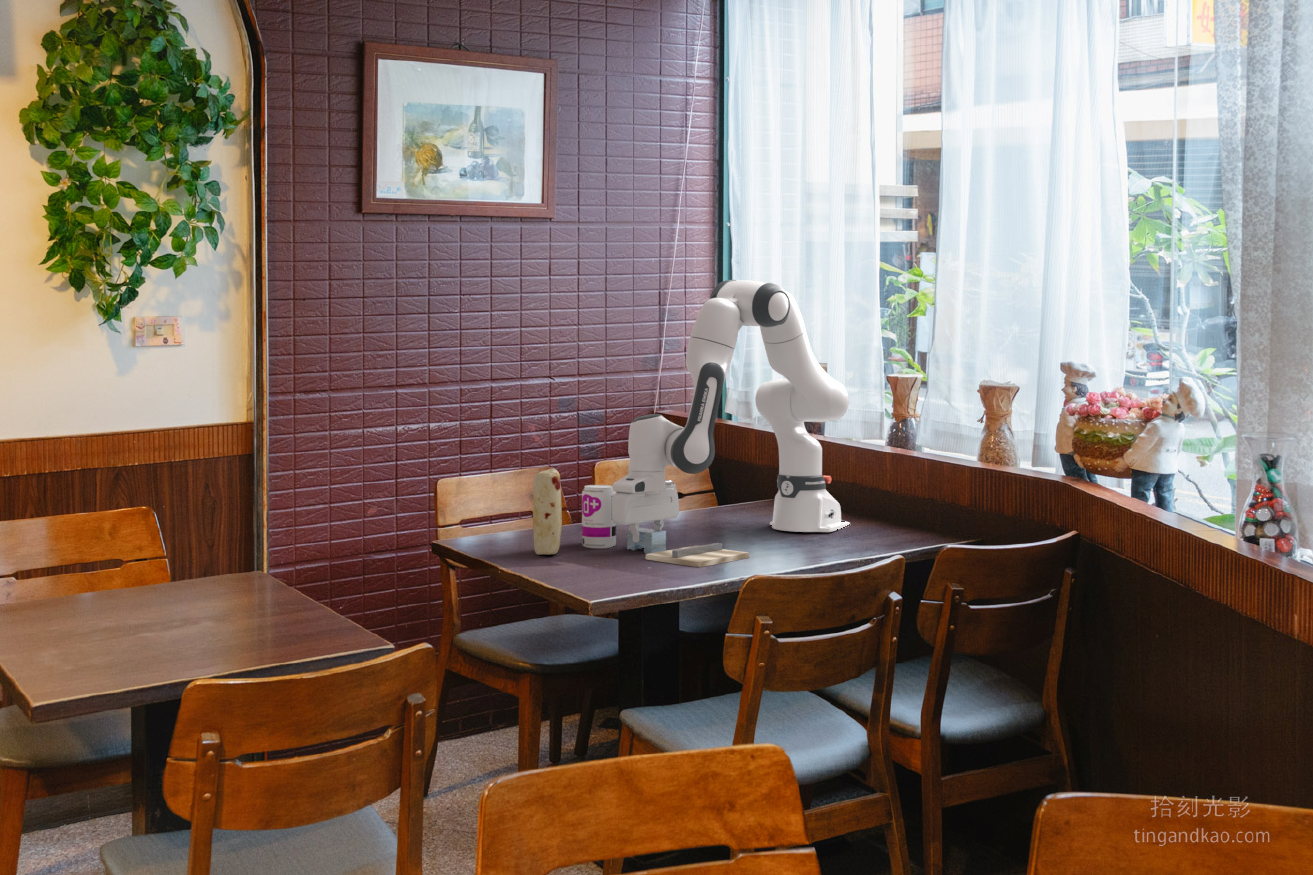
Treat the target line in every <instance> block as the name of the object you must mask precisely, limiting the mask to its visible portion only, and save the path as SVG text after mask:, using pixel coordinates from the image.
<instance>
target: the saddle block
mask: <svg viewBox="0 0 1313 875" xmlns="http://www.w3.org/2000/svg"><path fill="white" fill-rule="evenodd" d="M638 530H639V533H640V534H642V541H641V542H633V534H632V533H631V531H630V528H629V529H626V549H627V550H629V549H631V551H634V550H635V551H638V549H639V550H643V553H644V554H649V553H655V552H661V551H667V530H663V529H661V530H655V529H654V528H647V527H639V528H638ZM642 548H644V549H642Z"/></svg>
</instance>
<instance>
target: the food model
mask: <svg viewBox="0 0 1313 875" xmlns="http://www.w3.org/2000/svg"><path fill="white" fill-rule="evenodd" d="M532 484H533V487H532V488H533V491H532V492H533V498H532V500H533V501H532V522H533V524H532V526H533V531H532V532H533V547H534V552H535V555H537V556H539V555H541V556H542V555H546V556H547V555H555V554H557V553H558V552H559V550H560V547H561V537H562V535H561V534H562V528H563V524H562V523H563V520H562V519H563V518H562V517H563V514H562V510H563V509H562V487H561V475H560V473H559V471H558V470H557V469H556V468H555V469H554V468H548V469H544V470H542V471H540V472H538V473H537V472H536V473H534V478H533V483H532Z"/></svg>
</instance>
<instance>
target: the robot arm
mask: <svg viewBox="0 0 1313 875" xmlns="http://www.w3.org/2000/svg"><path fill="white" fill-rule="evenodd" d="M801 313H802V312H801V311H800V308H799V306H798V304H797V301H796V300H795V298H794V296H793V295H792V294H791V293H790V292H788V291H786V290H785V289H784V288H783V287H782V286H780V285H778V284H775V283H774V282H773V283H772V282H765V281H759V280H752V279H751V280H750V279H749V280H746V279H745V280H737V279H727V280H724V281H721V282H719V283H718V284H716V286H715V287H714V289H713V290H712V292H711V294H710V296H709V299H708V300H706V301H705V302H703V305H702V307H701V308H700V311H699V312H698V315H697V317H696V319H695V322H694V324H693V327H692V330H691V333H690V337H689V340H688V344H687V349H686V355H685V367H686V369H687V371H688V372H689V373H688V374H690V377H691V379H692V382H693V394H692V400H691V403H690V408H689V411H688V412H689V413H688V417H687V421H686V424H685V426H681V425H678V423H677V424H676V423H674V422H672V421H670V420H668V419H667V418H665V417H664V416H663V415H662V414H659V413H652V414H651V413H650V414H644V415H640V416H637V417H635V418H633V420H632V421H631V423H630V426H629V431H628V442H627V443H628V445H627V446H628V448H627V449H628V450H627V452H628V455H629V464H628V467H627V468H628V470H627V471H628V472H627V474H626V475H624V476H623V477H622V478H620V479H618V480H616V481H615V482H613V484H612V486H613V491H615V492H616V493H615V494H614V496H613V500H612V519H613V521H614V523H615V524H616V525H620V526H627V525H628V528H629V529H630V531H631V533H632V534H633V542H641V541H642V534H640V533H639V530H638V528H640V524H642V523H649V522H653V524H654V527H653V529H655V530H663V527H664V525H665V520H670V519H677V518H678V516H679V514H680V502H679V495H678V491H677V485H676V484H675V482H674V481H672V480H671V479H669V480H666V467H667V466H672V467H674V468H677V469H679V470H680V471H681V472H684V473H685V474H689V475H695V474H700V473H702V472H704V471H706V470H707V469H708V468H709V467H711V465H712V463H713V461H714V458H715V455H716V446H715V438H714V430H715V425H716V424H715V423H716V420H717V415H718V411H719V406H720V401H721V398H722V397H721V396H722V392H723V388H724V384H725V381H726V378H727V374H728V371H729V368H730V366H731V362H732V359H733V356H734V353H735V349H736V344H737V342H738V335H739V332H740V329H742V327H743V326H745V327H750V326H751V327H759V328H760V334H761V338H762V341H763V346H764V349H765V353H766V357H767V360H768V364H769V366H770V368H771V369H773V371H774V372H775V373H778V374H779V375H781V376H782V377H784V378H777V379H772V380H768V381H765V382H763V383H761V384H760V385H759V386H758V389H757V390H756V392H755V398H754V400H755V401H754V402H755V407H756V410H757V411H758V413H759V415H760V416H761V417H763V418H764V419H765V421H767V422H768V424H769V425H770V427H771V429H772V431H773V433H774V435H775V438H776V442H777V447H778V461H779V462H778V465H779V466H778V467H779V468H778V474H777V479H776V482H777V483H776V485H777V486H776V487H777V489H778V491H777V493H776V494H775V496H774V502H773V511H772V512H773V514H772V521H770V522H769V526H770V525H772V526H771V528H772V529H773V530H778V531H784V532H793V533H794V532H795V533H796V532H797V533H798V532H802V533H831V532H835V531H837V529H838V530H842V529H844V528H843V527H845V526H847V525H849V524H850V525H851V522H849V521H846V520H844V521H845V522H841V521H842V510H841V508H842V507H841V505H840V503H839V502H838V500H836V498H834V497H833V495H831V494H830V493H829V491H828V490H827V489H826V488H827V486H826V484H831V482H832V480H833V479H832V477H831V475H823V447H822V445H821V443H820V442H819V440H817V439H816V438H815V437H813V436H811V435H810V434H809V432H808V431H807V429H806V426H805V423H806V422H809V423H827V422H831V421H837V420H840V419H841V418H842V417H843V418H844V416H845V414H846V412H847V410H848V407H849V404H850V403H849V402H850V401H849V400H850V397H849V393H848V391H847V388H846V387H845V386H844V385H843V383H841V382H839V381H837V380H835V379H834V378H833V377H832V376H830V375H829V374H828V373H827V372H826V371H825V369H824V368H823V367H822V366H821V365H820V364H819V362H818V360H817V359H816V357H815V355H814V353H813V350H812V347H811V344H810V340H809V337H808V334H807V330H806V326H805V322H804V319H803V317H802V314H801ZM841 528H842V529H841ZM845 528H846V527H845Z"/></svg>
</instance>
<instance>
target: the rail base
mask: <svg viewBox="0 0 1313 875" xmlns="http://www.w3.org/2000/svg"><path fill="white" fill-rule="evenodd" d="M696 546H697V545H692V546H686V547H685V546H684V547H680V548H679V547H678V548H675V549H674V548H673V549H669V550H668V549H666V551H661V552H655V553H645V560H647V561H652V562H653V561H655V562H661V563H666V564H667V563H668V564H674V565H680V566H681V565H682V566H686V567H687V566H688V567H693V568H703V567H709V566H713V565H719V564H723V563H725V564H726V563H728V562H735V561H739V560H746V559H750V552H747V551H740V550H733V549H732V550H730V549H724V548H722V550H719V551H713V552H708V553H702V554H696V555H691V556H685V557H680V558H675V557H672V550H678V549H684V548H690V547H696Z"/></svg>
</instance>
